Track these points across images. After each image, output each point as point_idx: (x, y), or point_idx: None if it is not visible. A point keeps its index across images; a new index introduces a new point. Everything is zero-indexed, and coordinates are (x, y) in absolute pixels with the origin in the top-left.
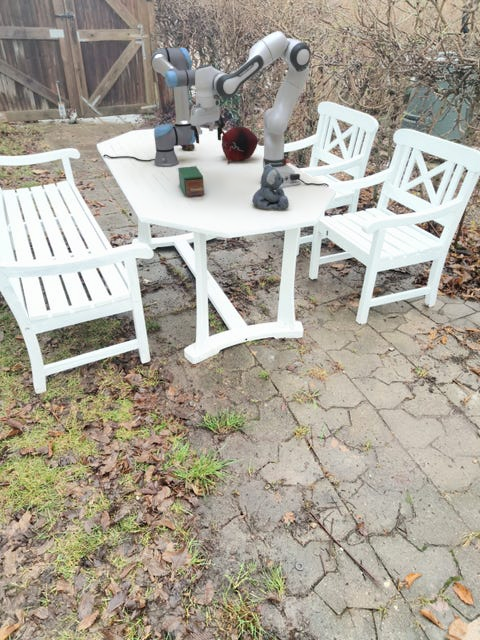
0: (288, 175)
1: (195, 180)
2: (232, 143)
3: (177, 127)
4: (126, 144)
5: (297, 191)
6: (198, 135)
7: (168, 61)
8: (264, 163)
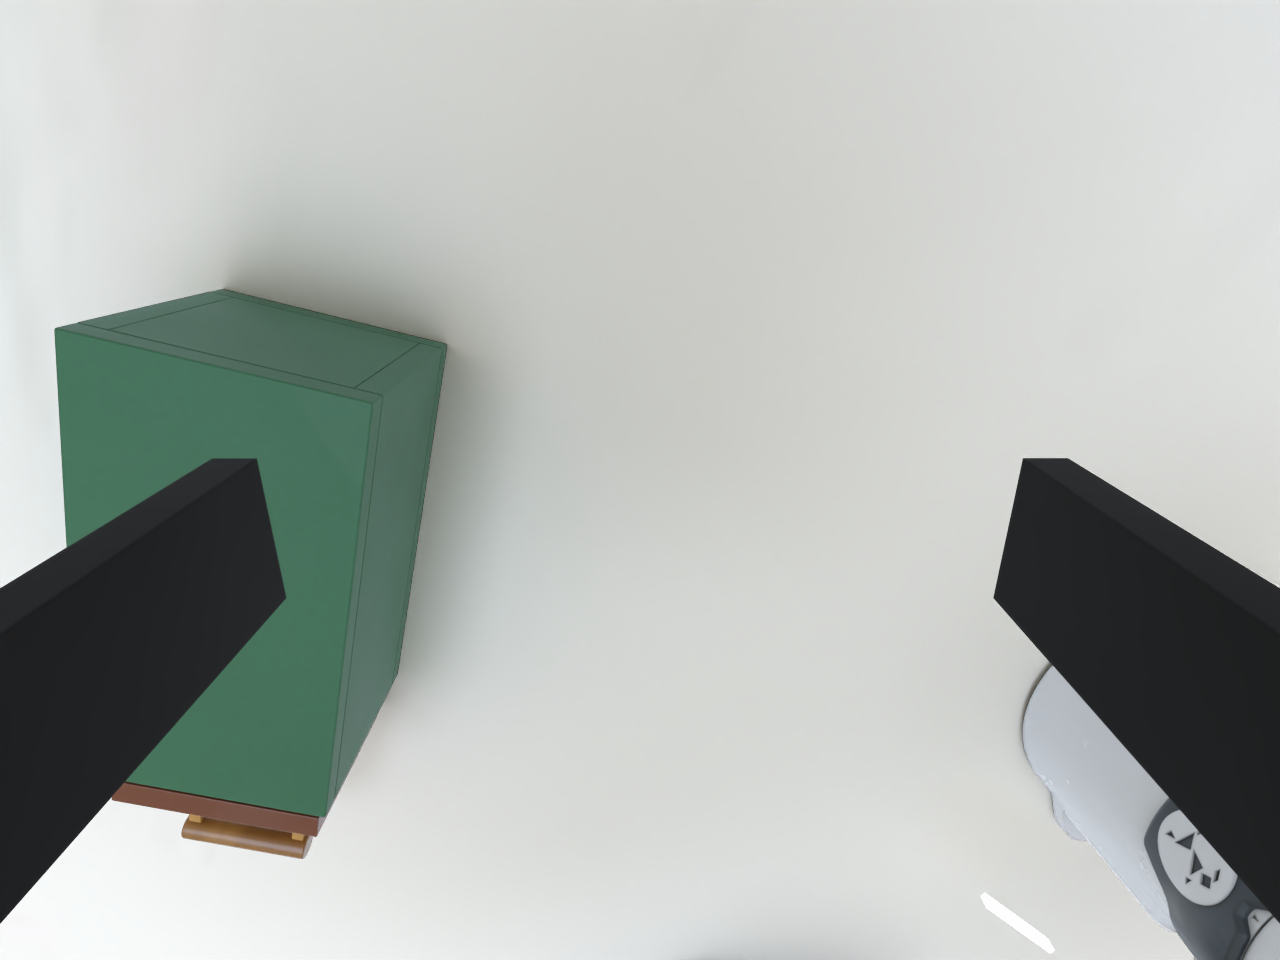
0: None
1: (227, 820)
2: None
3: None
4: None
5: (1124, 936)
6: (116, 772)
7: None
8: (1189, 898)
